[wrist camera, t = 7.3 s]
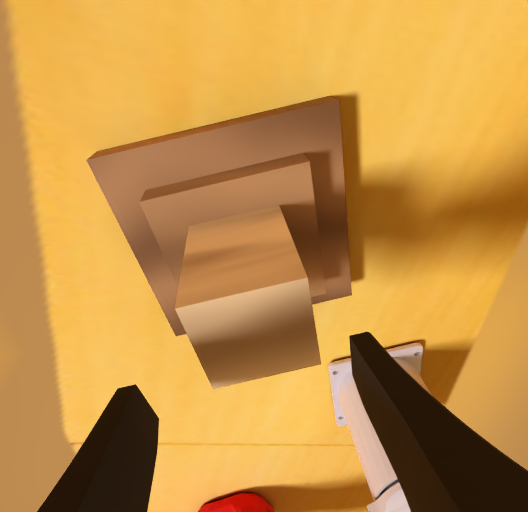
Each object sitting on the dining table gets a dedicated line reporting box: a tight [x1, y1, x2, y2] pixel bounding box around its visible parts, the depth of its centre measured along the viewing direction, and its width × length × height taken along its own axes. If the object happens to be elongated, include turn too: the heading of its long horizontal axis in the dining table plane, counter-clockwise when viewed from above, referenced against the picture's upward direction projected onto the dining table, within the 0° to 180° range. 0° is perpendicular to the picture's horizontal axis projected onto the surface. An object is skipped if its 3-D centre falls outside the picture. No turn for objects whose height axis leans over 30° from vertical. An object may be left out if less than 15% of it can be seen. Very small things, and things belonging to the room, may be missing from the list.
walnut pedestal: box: [87, 96, 352, 336], centre depth 18 cm, size 12×12×3 cm
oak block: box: [175, 205, 321, 389], centre depth 14 cm, size 4×4×6 cm
